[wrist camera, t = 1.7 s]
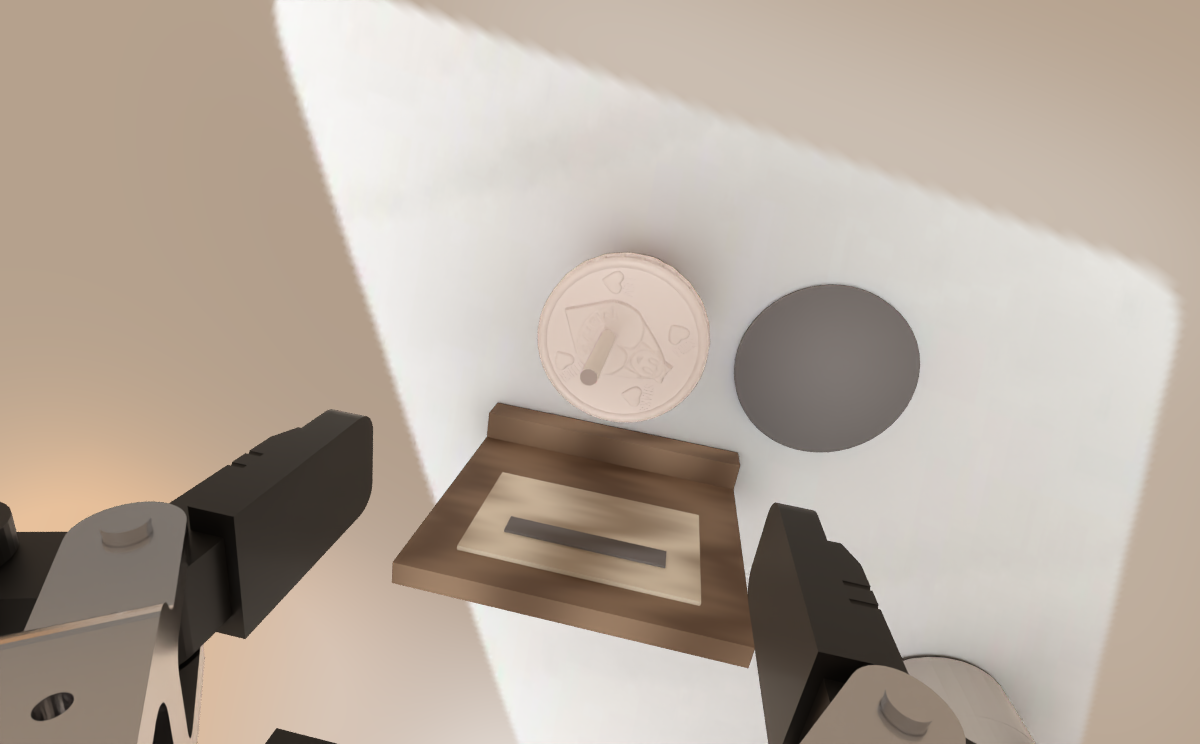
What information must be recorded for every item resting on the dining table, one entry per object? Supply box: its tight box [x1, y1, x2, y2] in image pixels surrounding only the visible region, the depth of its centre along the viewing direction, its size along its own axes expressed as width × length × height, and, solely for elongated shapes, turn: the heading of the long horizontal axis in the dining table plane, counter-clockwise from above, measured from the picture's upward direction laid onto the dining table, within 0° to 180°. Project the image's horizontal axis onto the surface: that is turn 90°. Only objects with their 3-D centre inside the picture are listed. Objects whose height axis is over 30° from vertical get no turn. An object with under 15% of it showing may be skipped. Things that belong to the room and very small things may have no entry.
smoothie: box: [538, 252, 710, 422], centre depth 23 cm, size 6×6×14 cm
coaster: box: [734, 285, 920, 452], centre depth 29 cm, size 9×9×1 cm
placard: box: [392, 403, 755, 668], centre depth 27 cm, size 14×4×12 cm, turn 81°
